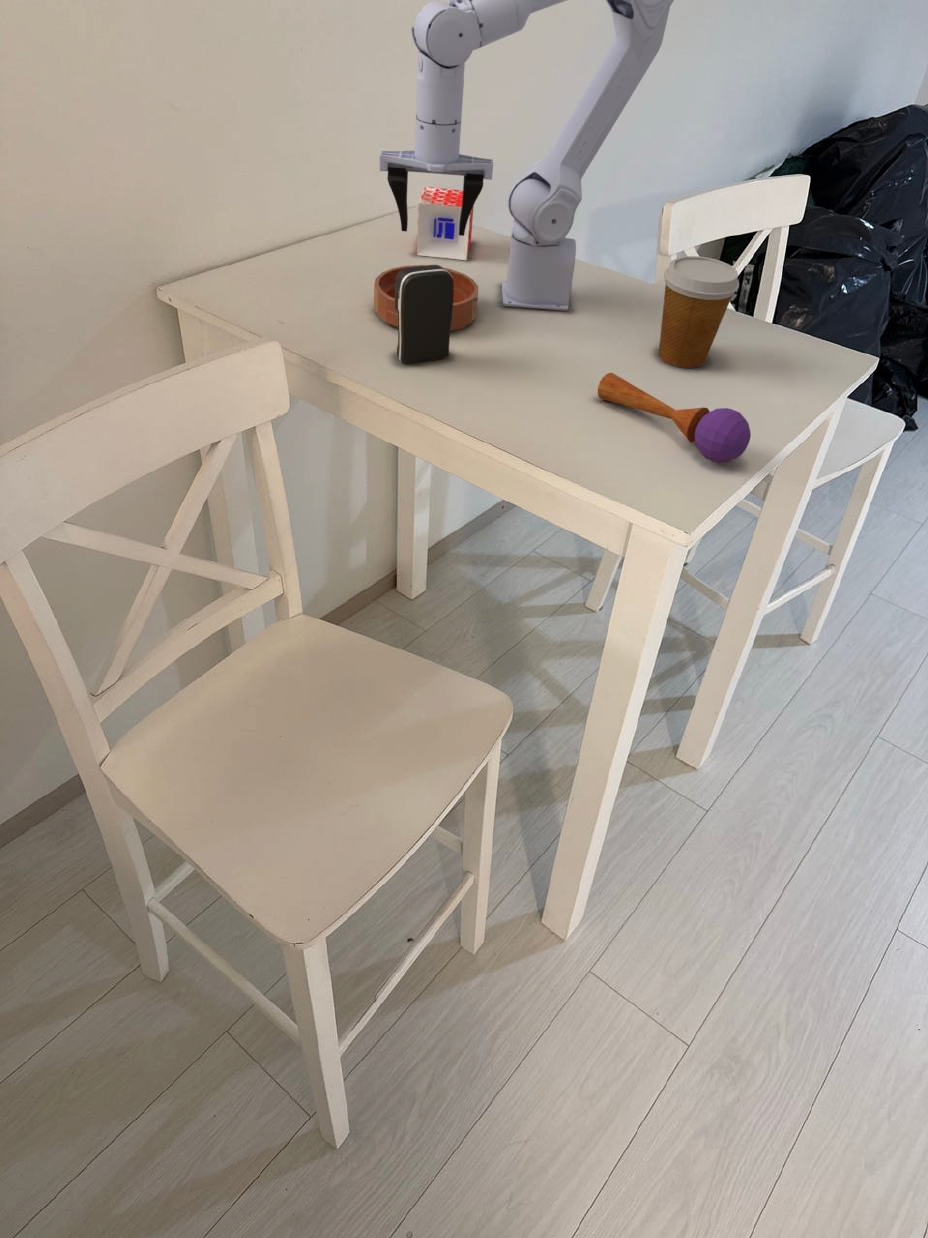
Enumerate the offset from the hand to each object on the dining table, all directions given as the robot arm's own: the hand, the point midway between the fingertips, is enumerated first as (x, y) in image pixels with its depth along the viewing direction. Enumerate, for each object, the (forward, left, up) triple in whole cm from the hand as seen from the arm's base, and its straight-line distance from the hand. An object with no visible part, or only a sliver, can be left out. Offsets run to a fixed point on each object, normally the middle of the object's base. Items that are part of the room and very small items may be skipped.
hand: (433, 230), depth 122 cm
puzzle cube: (-2, -22, -11) cm, 25 cm away
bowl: (0, +3, -10) cm, 11 cm away
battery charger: (+1, +16, -11) cm, 19 cm away
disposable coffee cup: (-35, +11, -11) cm, 38 cm away
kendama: (-29, +31, -11) cm, 44 cm away
